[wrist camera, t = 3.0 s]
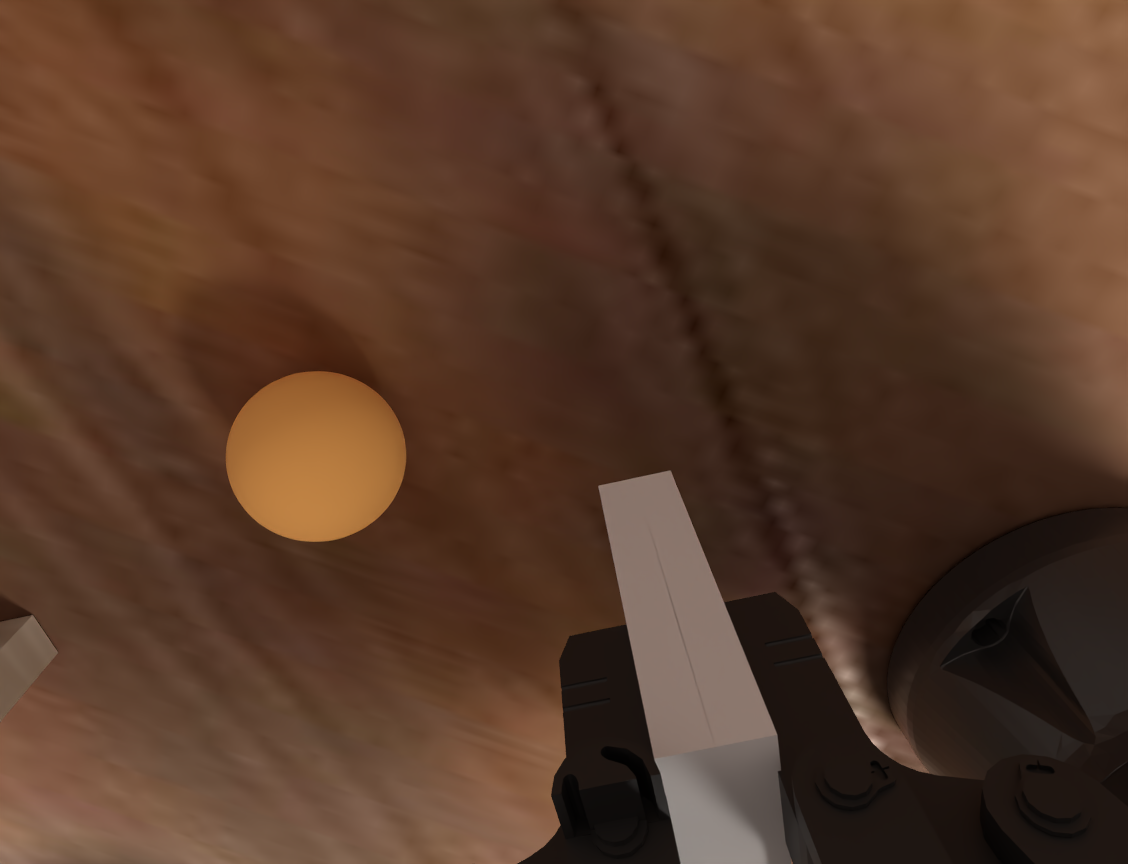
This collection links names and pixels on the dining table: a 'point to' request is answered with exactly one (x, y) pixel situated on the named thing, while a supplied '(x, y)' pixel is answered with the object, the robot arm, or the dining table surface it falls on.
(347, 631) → the dining table surface
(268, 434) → the ball
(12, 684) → the bridge
